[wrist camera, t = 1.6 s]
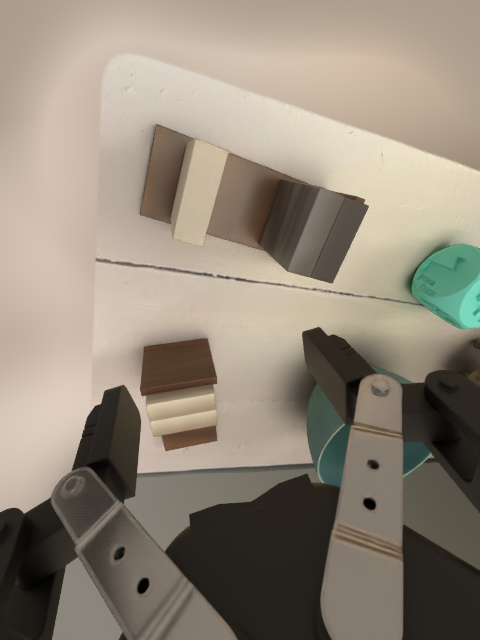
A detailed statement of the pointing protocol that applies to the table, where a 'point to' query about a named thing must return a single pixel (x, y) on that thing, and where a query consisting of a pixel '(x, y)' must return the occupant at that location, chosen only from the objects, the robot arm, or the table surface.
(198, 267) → the table surface
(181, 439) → the brown wooden book rack
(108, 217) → the table surface
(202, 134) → the table surface
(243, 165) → the brown wooden bookend
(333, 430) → the teal bowl
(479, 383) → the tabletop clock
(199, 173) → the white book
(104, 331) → the table surface
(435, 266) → the decorative dice
